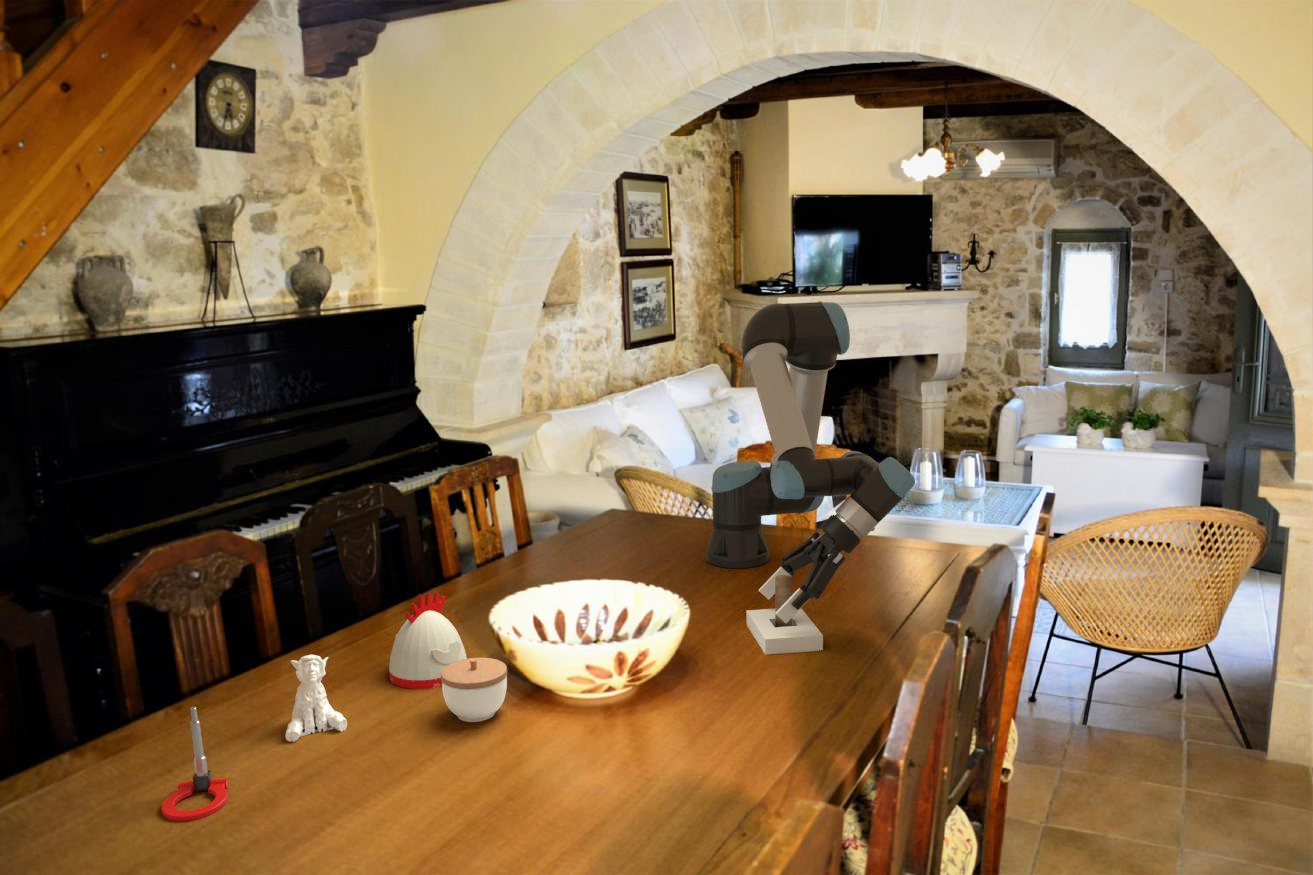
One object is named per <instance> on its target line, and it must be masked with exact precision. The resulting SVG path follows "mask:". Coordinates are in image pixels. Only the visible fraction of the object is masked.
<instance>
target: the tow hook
mask: <svg viewBox="0 0 1313 875" xmlns="http://www.w3.org/2000/svg"><path fill="white" fill-rule="evenodd" d="M190 717H191V721H190V730H191V738H192V744H193V753H194V758H193V764H194V770H195V772H194V774H193V776H192V780H191V781H180V782H178V785H177V790H176V791H174V792H173V793H171V794H170V795H168V796H167V797H166V799H165V800H164V801H163V802H162V804H161V814H162V815H163V817H164V818H166V819H167V820H169V821H174V822H188V821H189V822H190V821H195V820H199V819H202V818H205V817H208V816H210V815H212V814H214V813H216V812H218V811H219V810H220V809H221V808H223V806H225V804H226V803H227V801H228V790H227V788H229V778H227V777H223V778H213V777H212V770H208V764H207V757H206V755H205V752H204V744H203V737H202V729H201V723H200V722H201V721H200V719H198V712H197V706H191V707H190ZM194 792H196V793H197V792H199V793H200V792H208V794H210V795H212V796H214V799H213V800H212V801H211V802H210V803H209V804H207V805H205V806H203V807H199V808H197V809H193V810H179V809H177V808H176V806H175V805H176V804H177V803H178V802H180V801H181V800H183V799H185V798H188V797H190V796H191V795H193V793H194Z"/></svg>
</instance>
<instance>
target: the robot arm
mask: <svg viewBox="0 0 1313 875" xmlns="http://www.w3.org/2000/svg"><path fill="white" fill-rule="evenodd" d="M850 332H851V331H850V327H849V321H848V318H847V315H846V313H845V311H844V309H843V308H842V306H841V305H840V304H838V303H836V302H833V301H832V302H827V301H825V302H823V301H820V300H819V301H817V302H814V301H813V302H791V303H781V302H780V303H771V304H768V305H766V306H764V307H762V308H760V309H759V310H758V311H756V312H755V313H754V314H753V316H752V317H750V320H748V322H747V324H746V326H745V328H744V330H743V332H742V337H741V342H740V343H741V344H740V347H741V348H740V349H741V350H740V351H741V357H742V362H743V365H744V367H745V368H746V369H747V370H748V371H749V372H751V375H752V378H753V382H754V385H755V388H756V392H757V395H758V398H759V402H760V406H761V409H762V412H763V417H764V419H765V422H766V426H767V431H768V433H769V436H770V437H769V438H770V440H771V444H772V446H773V450H774V454H773V455H772V456H771V458H770V466H764V467H763V466H762V465H761V463H760V462H759V461H755V460H747V461H745V460H741V461H740V460H739V461H734V462H730V463H725V464H722V465H721V466H719V467H717V468H716V469H715V470H714V471H713V472H712V484H711V492H712V499H711V501H712V530H711V534H710V536H709V540H708V543H707V546H706V550H705V560H706V562H707V563H709V564H710V565H712V566H716V567H720V568H726V569H727V568H729V569H745V568H746V569H747V568H754V567H759V566H762V565H765V564H766V563H767V562H769V561H770V560H769V558H770V557H769V556H770V553H769V548H768V544H767V541H766V538H765V536H764V532H763V528H762V517H766V516H776V515H786V514H787V515H789V514H798V515H800V514H804V513H810V512H814V511H816V510H818V509H819V508H820V507H821V505H822V503H823V501H824V499H825V497H837V496H848V497H847V498H846V499H844V501H842V502H841V504H840V505H839V506H838V507H837V508H836V509H835V513H836V514H831V515H830V516H828V518H827V519H826V520H825V521H824V523H822V524H821V525H820V530H822V531H823V532H824V534H823V535H821V534H820V533H819V532H818V531H815V532H814V533H813V534H812V535H811V536H809V538H807V539H806V540H805V541H804V542H802V543H800V544H799V545H797V546H796V547H795V548H794V549H792V550H791V551H789V552H788V553H787V554H785V555H784V556H783V557H781V559H780V562H782V563H781V565H780V567H779V568H778V569H777V570H776V571H775V572H774V573H773V574H772V575H771V576H770V577H769V578H768V579H767V581H766V582H764V584H763V585H762V586H761V587H760V588H759V589H758V592H760V593H761V595H762V596H764V597H765V599H767V600H769V601H770V599H771V598H772V597H773V596H775V577H776V576H779V575H788V576H791V577H793V576H794V575H795V572H796V571H798V570H800V569H802V568H804V567H806V566H808V565H810V564H812V566H811V569H810V571H809V573H808V575H807V577H806V580H805V582H804V583H803V584H802V585H799V586H798V588H797V590H795V591H794V592H793V593H792V596H791V597H790V598H789V599H788V600H787V601H786V602H785V603H784V604H783V605H782V606H781V607H780V609H779V610H778V611H777V612H776V613H775V614H776V615H777V616H778V617H779V618H780V619H782V620H783V621H784V622H785V623H787V622H788V621H789V620H790V619H791V618H792V617H793V616H794V615H795V614H796V613H797V612H798V611H799V610H800V609H802V607H804V605H805V604H806V603H808V601H809V600H810V599H811V600H812V599H815V600H819V599H820V597H821V596H822V594H824V591H825V590H826V588H827V586H828V585H829V583H830V582H831V580H832V578H833V576H835V574H836V572H837V570H838V568H839V567H840V566H841V565H842V564H843V563H844V561H845V560H846V557H845V556H844V555H842V551H844V552H845V553H846V554H850V553H852V552H853V550H855V549H856V547H857V546H859V545H860V543H861V541H862V540H861V539H860V538H861V537H862V538H866V537H867V536H868V535H869V533H871V532H874V531H875V529H876V528H875V527H877V525H878V524H879V523H880V522H881V521H882V520H883V519H884V518H885V517H886V516H887V515H888V514H890V513H891V511H892V510H893V509H894V508H895V507H896V506H897V505H898V504H899V503H900V502H901V501H902V500H903V499H904V498H906V496H907V494H908V493H909V492H910V490H911V489H912V488H913V487H915V484H916V479H915V477H914V475H913V474H912V473H911V472H910V471H909V470H908V469H907V468H906V467H905V465H903V464H901V463H900V462H899V461H898V460H897V459H896V458H894V457H892V456H889V457H886V458H885V459H883V460H882V461H880V462H877V461H876V460H874V459H873V458H872V457H871V456H869V455H868V454H866V453H862V452H861V451H858V450H857V451H856V450H852V451H851V450H850V451H848V452H846V453H843V455H841V456H840V457H830V458H829V457H828V458H817V457H816V449H817V446H818V445H817V443H818V438H819V431H820V424H821V419H822V418H821V417H822V412H823V405H824V398H825V393H826V385H827V378H828V371H830V370H832V369H834V368H835V366H836V365H837V359H838V355H840V356H842V355H844V354H846V353H847V352H848V350H849V348H850V341H851V338H850V337H851V333H850ZM788 366H789V367H788ZM788 368H789V369H788Z"/></svg>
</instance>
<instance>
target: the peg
mask: <svg viewBox="0 0 1313 875" xmlns="http://www.w3.org/2000/svg"><path fill="white" fill-rule="evenodd" d="M792 595H793V576H788V575H779V576H776V577H775V594H774V596H775V599H774V603H775V604H774V607H775V608H774V609H775V613H776V612H777V611H778V610H779V609H780V607H781V606H782V605H783V604H784V603H785V602H786V601H787V600H788V599H789V598H790V597H791V596H792ZM787 626H792V618H791V619H790V620H789V621H788V622H787V623H785V622H784V621H783V620H782V619H780V618H779V617H778V616H777V615H776V614H775V627H787Z"/></svg>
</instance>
